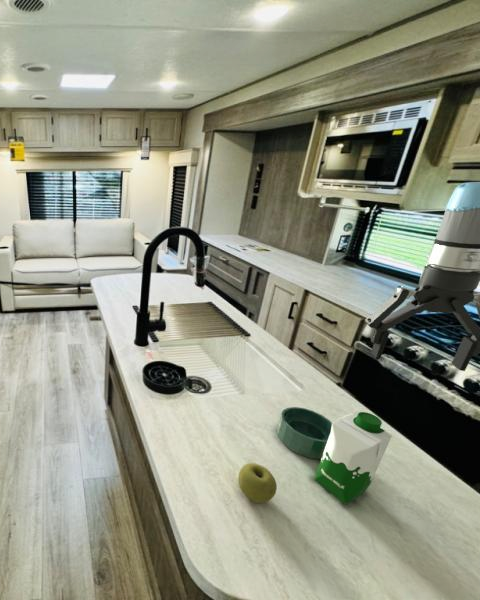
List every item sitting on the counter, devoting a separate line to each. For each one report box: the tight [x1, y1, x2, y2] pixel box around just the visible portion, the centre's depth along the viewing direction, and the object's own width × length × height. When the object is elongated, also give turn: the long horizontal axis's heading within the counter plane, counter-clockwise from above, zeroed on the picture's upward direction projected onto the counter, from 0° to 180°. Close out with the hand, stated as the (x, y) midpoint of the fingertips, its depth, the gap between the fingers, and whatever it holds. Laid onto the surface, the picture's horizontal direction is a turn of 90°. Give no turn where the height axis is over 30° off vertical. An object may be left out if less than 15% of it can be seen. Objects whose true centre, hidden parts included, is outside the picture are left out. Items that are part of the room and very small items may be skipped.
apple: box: [237, 462, 278, 504], centre depth 72 cm, size 8×8×7 cm
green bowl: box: [276, 406, 333, 460], centre depth 87 cm, size 13×13×6 cm
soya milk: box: [313, 411, 393, 505], centre depth 71 cm, size 9×9×20 cm
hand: (415, 361), depth 68 cm, fingers open, 13 cm apart
